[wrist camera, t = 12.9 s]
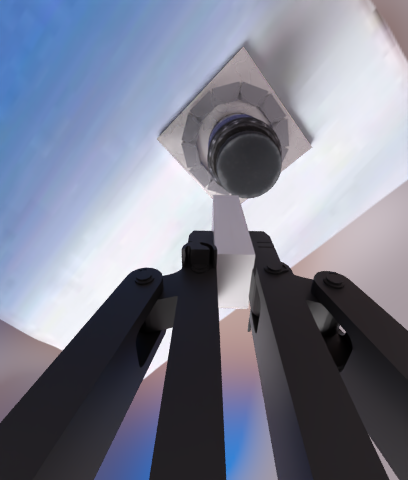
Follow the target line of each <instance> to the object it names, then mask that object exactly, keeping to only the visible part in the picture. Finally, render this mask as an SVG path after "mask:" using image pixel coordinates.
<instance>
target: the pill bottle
mask: <svg viewBox="0 0 408 480" xmlns="http://www.w3.org/2000/svg"><path fill="white" fill-rule="evenodd" d="M281 155H282V149H281V144H280V140H279V139H278V136H277V134H276V133H275V131H274V130H273V129H272V128H271V127H270V126H269V125H268V124H266V123H265V122H263V121H261V120H259V119H257V118H254V117H253V116H250V115H247V114H243V113H236V114H231V115H228V116H226V117H224V118H222V119H221V120H220V121H219V122H217V123H216V125H215V126H214V128H213V129H212V131H211V133H210V136H209V142H208V155H207V162H208V167H209V171H210V173H211V175H212V177H213V179H214V180H215V182H216V183H217V184H218V185H219V186H220V187H222V188H223V189H225V190H226V191H227V192H228V193H230V194H232V195H238V196H239V197H240V198H254V197H258V196H261V195H262V194H264V193H266V192H267V191H268V190H270V189H271V188H272V187H273V185H274V184H275V183H276V181H277V180H278V178H279V175H280V172H281V168H282V159H281V158H282V156H281Z"/></svg>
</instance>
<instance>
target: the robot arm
mask: <svg viewBox="0 0 408 480" xmlns="http://www.w3.org/2000/svg"><path fill="white" fill-rule="evenodd" d="M249 301H250V306H251V311H250V318H249V324H248V332H249V331H250V330H251V329H252V335H253V340H254V346H255V352H256V358H257V363H258V369H259V375H260V380H261V386H262V392H263V397H264V403H265V409H266V414H267V420H268V426H269V431H270V437H271V443H272V448H273V454H274V460H275V466H276V470H277V477H278V480H389V478H388V476H387V474H386V471H385V469H384V467H383V465H382V463H381V461H380V459H379V457H378V454H377V452H376V450H375V448H374V446H373V444H372V442H371V439H372V440H373V441H374V443H375V445H376V446H377V448H378V449H379V450H380V452H381V453H382V455H383V456H384V458H385V459H386V461H387V462H388V464H389V465H390V467H391V468H392V469H393V471H394V473H395V474H396V476H397V477H398V479H399V480H408V331H407V330H406V329H405V328H404V327H403V326H402V325H401V324H399V323H398V322H397V321H396V320H395V319H394V318H393V317H391V316H390V315H389V314H388V313H387V312H386V311H385V310H384V309H382V308H381V307H380V306H379V305H378V304H377V303H375V302H374V301H373V300H372V299H371V298H370V297H368V296H367V295H366V294H365V293H364V292H363V291H362V290H361V289H360V288H358V287H357V286H356V285H355V284H354V283H353V282H351V281H350V280H349V279H348V278H346V277H345V276H343V275H340V274H338V273H336V272H330V271H321V272H318V273H317V274H316V275H315V276H314V279H313V280H312V279H308V278H303V277H299V276H296V275H294V274H293V273H292V270H291V269H290V268H289V266H288V265H286V264H284V263H283V262H280V259H279V257H278V255H277V252H276V250H275V248H274V245H273V243H272V241H271V238H270V236H268V235H267V234H266V233H265V232H262V231H248V228H247V224H246V221H245V217H244V214H243V210H242V207H241V203H240V200H239V196H238V195H213V213H212V231H193V232H192V233H191V234H190V235H189V240H188V243H187V244H185V245H184V246H183V248H182V269H181V270H180V271H178V272H176V273H174V274H170V275H165V276H162V273H161V272H160V271H158V270H157V269H153V268H141V269H137V270H135V271H132V272H131V273H130V274H129V275H128V276H127V277H126V278H125V279H124V280H123V281H122V282H121V284H120V285H119V286H118V287H117V288H116V289H115V291H114V292H113V293H112V294H111V295H110V296H109V298H108V299H107V300H106V301H105V302H104V303H103V305H102V306H101V307H100V308H99V309H98V310H97V311H96V313H95V314H94V315H93V316H92V317H91V318H90V320H89V321H88V322H87V323H86V324H85V325H84V327H83V328H82V329H81V330H80V331H79V332H78V334H77V335H76V336H75V337H74V338H73V339H72V340H71V342H70V343H69V344H68V345H67V346H66V347H65V349H64V350H63V351H62V352H61V353H60V355H59V356H58V357H57V358H56V359H55V360H54V361H53V363H52V364H51V365H50V366H49V367H48V369H46V371H45V372H44V373H43V374H42V375H41V377H40V378H39V379H38V380H37V381H36V382H35V383H34V385H33V386H32V387H31V388H30V389H29V390H28V392H27V393H26V394H25V395H24V396H23V397H22V398H21V400H20V401H19V402H18V403H17V404H16V405H15V407H14V408H13V409H12V410H11V411H10V412H9V414H8V415H7V416H6V417H5V418H4V419H3V421H2V422H1V423H0V480H94V478H95V476H96V474H97V472H98V470H99V468H100V466H101V464H102V462H103V460H104V458H105V455H106V454H107V451H108V449H109V448H110V445H111V443H112V441H113V439H114V437H115V435H116V433H117V431H118V429H119V427H120V425H121V423H122V421H123V419H124V417H125V415H126V413H127V410H128V409H129V407H130V405H131V403H132V401H133V398H134V396H135V394H136V392H137V390H138V388H139V386H140V384H141V382H142V380H143V378H144V376H145V374H146V372H147V370H148V368H149V366H150V364H151V362H152V360H153V358H154V356H155V354H156V351H157V349H158V347H159V345H160V343H161V341H162V339H163V337H164V335H165V333H166V329H168V328H172V327H173V330H172V337H171V343H170V349H169V356H168V363H167V369H166V375H165V381H164V388H163V394H162V401H161V408H160V414H159V420H158V426H157V433H156V440H155V446H154V452H153V459H152V465H151V472H150V478H149V480H226V464H225V442H224V420H223V398H222V376H221V354H220V332H219V309H218V308H232V309H248V305H249ZM340 325H341V327H342V328H343V329H344V330H345V331H346V333H345V334H344V333H343V332H342V331H341V330H340V329H339V326H340ZM368 434H369V435H368ZM369 436H370V437H371V439H370V437H369Z"/></svg>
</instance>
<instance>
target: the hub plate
mask: <svg viewBox="0 0 408 480" xmlns="http://www.w3.org/2000/svg"><path fill="white" fill-rule="evenodd" d="M236 113H243V114H247V115H250V116H253V117H254V118H257V119H259V120H261V121H263V122H265V123H266V124H268V125H269V126H270V127H271V128H272V129H273V130H274V131H275V133H276V134H277V136H278V139H279V140H280V144H281V149H282V155H281V156H282V158H281V159H282V168H281V172H282V171H283V170H284V169H285V168H287V167H288V166H289V165H290V164H292V163H293V162H294V161H295V160H297V159H298V158H299V157H300V156H302V155H303V154H304V153H305V152H307V151H308V150H309V149H310V148H312V146H311V145H310V143H309V142H308V140H307V139H306V137H305V136H304V135H303V133H302V132H301V130H300V129H299V127H298V126H297V124H296V123H295V121H294V120H293V118H292V117H291V115H290V114H289V113H288V111H287V110H286V108H285V107H284V105H283V104H282V102H281V101H280V99H279V98H278V96H277V95H276V93H275V92H274V91H273V89H272V88H271V86H270V85H269V83H268V82H267V80H266V79H265V77H264V76H263V74H262V73H261V71H260V70H259V69H258V67H257V66H256V64H255V63H254V61H253V60H252V58H251V57H250V55H249V54H248V52H247V51H246V49H245V48H244V47H243V48H242V49H241V50H240V51H239V52H238V53H237V54H236V55H235V56H234V57H233V58H232V59H231V60H230V61H229V62H228V63H227V65H226V66H225V67H224V68H223V69H222V70H221V71H220V72H219V73H218V74H217V75H216V76H215V77H214V78H213V79H212V81H211V82H210V83H209V84H208V85H207V86H206V87H205V88H204V89H203V90H202V91H201V92H200V93H199V94H198V95H197V97H196V98H195V99H194V100H193V101H192V102H191V103H190V104H189V105H188V106H187V107H186V108H185V109H184V110H183V111H182V113H181V114H180V115H179V116H178V117H177V118H176V119H175V120H174V121H173V122H172V123H171V124H170V125H169V126H168V127H167V128H166V130H165V131H164V132H163V133H162V134H161V135H160V136H159V137H158V138H157V140H158V141H159V142H160V143H161V144H162V145H163V146H164V147H165V149H166V150H167V151H168V152H169V153H170V154H171V155H172V156H173V157H174V158H175V159H176V160H177V161H178V163H179V164H180V165H181V166H182V167H183V168H184V169H185V170H186V171H187V172H188V173H189V174H190V175H191V176H192V178H193V179H194V180H195V181H196V182H197V183H198V184H199V185H200V186H201V187H202V188H203V189H204V190H205V191H206V193H207V194H208V195H209V196H210V197H211V198H212V199H213V195H232V194H230V193H228V192H227V191H226V190H225V189H223V188H222V187H220V186H219V185H218V184H217V183H216V182H215V180H214V179H213V177H212V175H211V173H210V171H209V167H208V162H207V155H208V142H209V136H210V133H211V131H212V129H213V128H214V126H215V125H216V123H217V122H219V121H220V120H221V119H222V118H224V117H226V116H228V115H231V114H236ZM246 199H248V198H240V197H239V200H240V203H243V202H244V201H245V200H246Z"/></svg>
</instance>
